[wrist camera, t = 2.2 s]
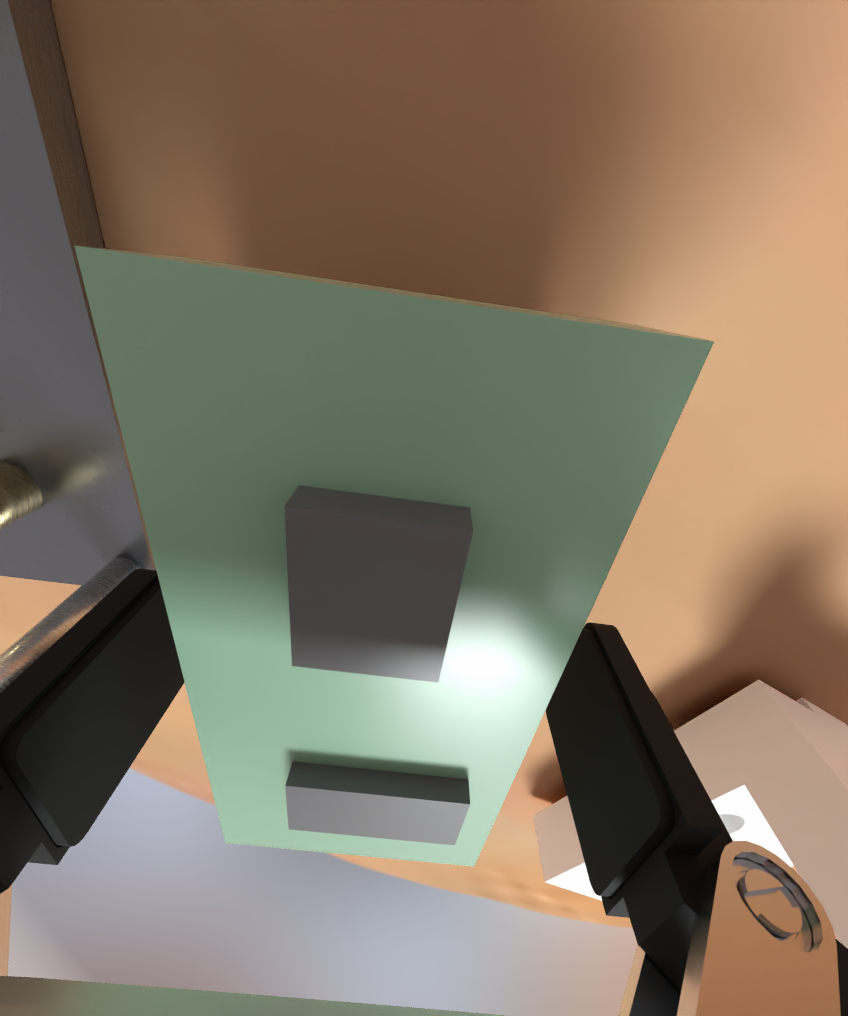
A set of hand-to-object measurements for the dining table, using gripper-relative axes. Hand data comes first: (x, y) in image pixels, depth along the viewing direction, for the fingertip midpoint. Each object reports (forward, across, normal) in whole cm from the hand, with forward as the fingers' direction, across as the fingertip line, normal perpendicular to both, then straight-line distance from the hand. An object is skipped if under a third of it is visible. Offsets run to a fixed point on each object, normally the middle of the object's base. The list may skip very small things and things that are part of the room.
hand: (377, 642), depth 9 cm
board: (0, 0, 0) cm, 0 cm away
